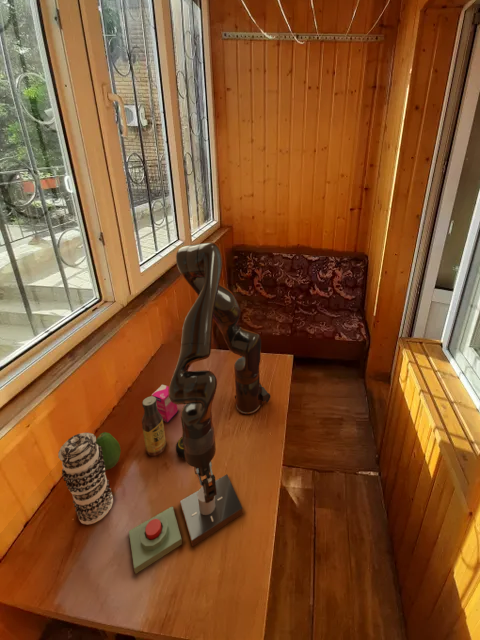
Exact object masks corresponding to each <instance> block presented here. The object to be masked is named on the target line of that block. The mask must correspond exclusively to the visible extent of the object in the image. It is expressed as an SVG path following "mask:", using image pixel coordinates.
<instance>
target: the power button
mask: <svg viewBox="0 0 480 640" xmlns="http://www.w3.org/2000/svg"><path fill="white" fill-rule="evenodd" d="M161 530H162V527H161V522H160V520H158V519H153V520H151V521H150V522H149V523H148V524H147V526H146V529H145V531H146V536H147V538H148V539H150V540H153V539H155V538H157V537H158V536H159V534H160V533H161Z"/></svg>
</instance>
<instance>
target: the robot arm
mask: <svg viewBox="0 0 480 640" xmlns="http://www.w3.org/2000/svg"><path fill="white" fill-rule="evenodd" d="M223 261H224V260H223V254H222V250H221V248H220V246H219V245H218V244H217V243H215V242H203V243H196V244H189V245H184V246H182V247H180V248H178V250H177V251H176V254H175V263H176V266H177V269H178V271H179V273H180V275H181V276H182V278H183V279H184V280H185V281H186V282H187V284H188V285H189V286H190V287H191V289H192V290H193V291H194V292H195V294H196V295H197V298H196V299H195V302H194V303H193V304H192V306H191V307H190V309H189V311H188V312H187V315H186V316H185V318H184V320H183V324H182V330H181V340H180V341H181V342H180V351H179V356H178V359H177V362H176V365H175V369H174V371H173V373H172V375H171V379H170V382H169V385H168V387H169V390H168V394H169V398H170V400H171V401H172V403H174V404H177V406H178V405H179V406H180V405H184V406H183V408H182V409H181V412H180V422H181V427H182V435H181V437H182V438H183V446H184V454H185V460H184V461H185V462H186V463H187V464H188V465H189V466H190V467H192V468H193V469H194V474H195V475H197V480H198V483H199V485H200V486H201V487H203V491H204V492H203V493H204V498H205V502H206V503H209V502H211V501H212V500H213V499H214V496H215V495H217V491H216V482H215V481H216V476H215V474H214V473H213V463H212V460H213V459H214V457H215V455H216V451H217V449H216V437H215V428H214V424H213V412H212V410H213V409H212V408H213V402H214V400H215V399H214V398H215V395H216V392H217V387H218V380H217V376H216V375H215V373H213V372H212V371H211V370H207V369H206V370H205V369H204V370H189V369H190V367H191V366H192V364H194V363H196V362H199V361H203V360H207V359H209V358H210V356H211V353H212V338H213V337H212V336H213V335H212V333H213V321H214V322H215V324H216V326H217V328H218V329H219V331H220V333H221V335H222V337H223V339H224V341H225V343H226V345H227V348H228V350H229V351H230V352H231V353H232V354H234V355H237V356H240V357H239V358H238V359H237V360H235V362H234V364H233V365H234V366H233V367H234V369H233V371H234V386H235V387H234V388H235V396H234V400H235V406H236V410H237V411H238V413H240V414H242V415H252V414H255V413H257V412H258V411H259V409H260V407H262V406H263V403H264V402H266V403H269V401H270V400H271V396H272V395H271V394H270V393H269V392H268V391H267V390H266V388H265V387H264V386H262V384H261V380H260V379H261V378H260V377H261V375H260V365H261V358H262V338H261V335H260V334H259V333H257V332H254V331H252V330H249V329H245V328H243V327H241V326H240V324H239V323H238V321H239V320H240V318H241V314H242V313H241V311H242V310H241V306H240V304H239V302H238V300H237V297H236V296H235V295H234V293H233V292H232V291H231V290H230V289H228V287H226V286H224V285H222V284H220V283H221V276H222V272H223ZM203 477H205V478H203ZM202 478H203V479H202Z"/></svg>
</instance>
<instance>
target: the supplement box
mask: <svg viewBox="0 0 480 640" xmlns="http://www.w3.org/2000/svg"><path fill="white" fill-rule="evenodd" d="M168 390H169V385H165V384H161V385H160V386H159V387H158V388H157V389H156V390H155V391H154V392H153V393H152V394H151V396H154V397H155V398H156V401H157V403H156V405H157V410H158V411H159V413H160V414H161V416H162V417H163V422H165V423H167V424H168V423H169V422H170V421H171V420H172V419H173V417H175V416H176V414H178V412H179V409H178V404H174V403H172V401H171V400H170V398H169V394H168Z"/></svg>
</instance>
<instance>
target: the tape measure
mask: <svg viewBox="0 0 480 640" xmlns="http://www.w3.org/2000/svg"><path fill="white" fill-rule="evenodd" d="M175 451H176V455H177V456H178V457H179V458H181V459H182V460H183V461H186V460H185V454H184V446H183V438H182V436H181V437H180V438H179V439H178V440H177V442H176V444H175Z"/></svg>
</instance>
